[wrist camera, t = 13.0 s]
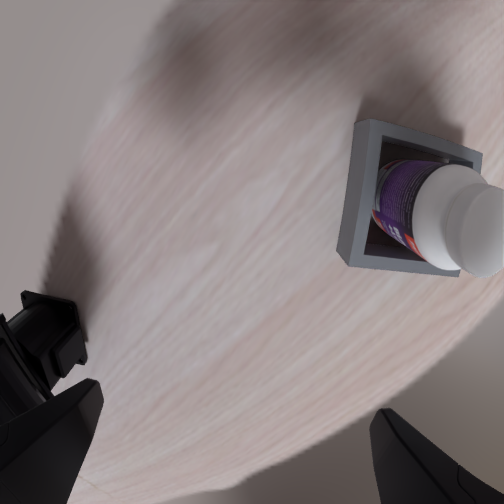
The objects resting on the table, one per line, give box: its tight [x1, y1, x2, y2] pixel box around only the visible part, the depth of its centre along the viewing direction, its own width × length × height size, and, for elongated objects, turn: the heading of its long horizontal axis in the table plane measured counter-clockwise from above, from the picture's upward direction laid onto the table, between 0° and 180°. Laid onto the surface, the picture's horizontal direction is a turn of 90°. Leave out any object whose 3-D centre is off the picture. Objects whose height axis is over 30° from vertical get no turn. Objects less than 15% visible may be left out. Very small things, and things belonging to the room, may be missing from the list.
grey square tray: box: [336, 118, 483, 277], centre depth 18 cm, size 9×9×3 cm
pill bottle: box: [371, 159, 504, 278], centre depth 14 cm, size 5×5×10 cm
